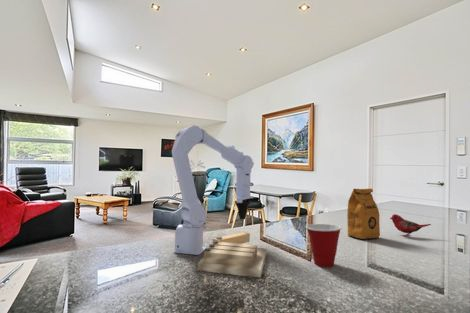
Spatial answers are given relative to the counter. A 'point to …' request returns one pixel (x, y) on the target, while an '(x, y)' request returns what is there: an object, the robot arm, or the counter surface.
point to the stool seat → (233, 259)
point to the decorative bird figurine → (406, 225)
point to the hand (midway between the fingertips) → (242, 218)
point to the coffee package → (363, 215)
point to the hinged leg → (234, 238)
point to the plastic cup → (324, 243)
